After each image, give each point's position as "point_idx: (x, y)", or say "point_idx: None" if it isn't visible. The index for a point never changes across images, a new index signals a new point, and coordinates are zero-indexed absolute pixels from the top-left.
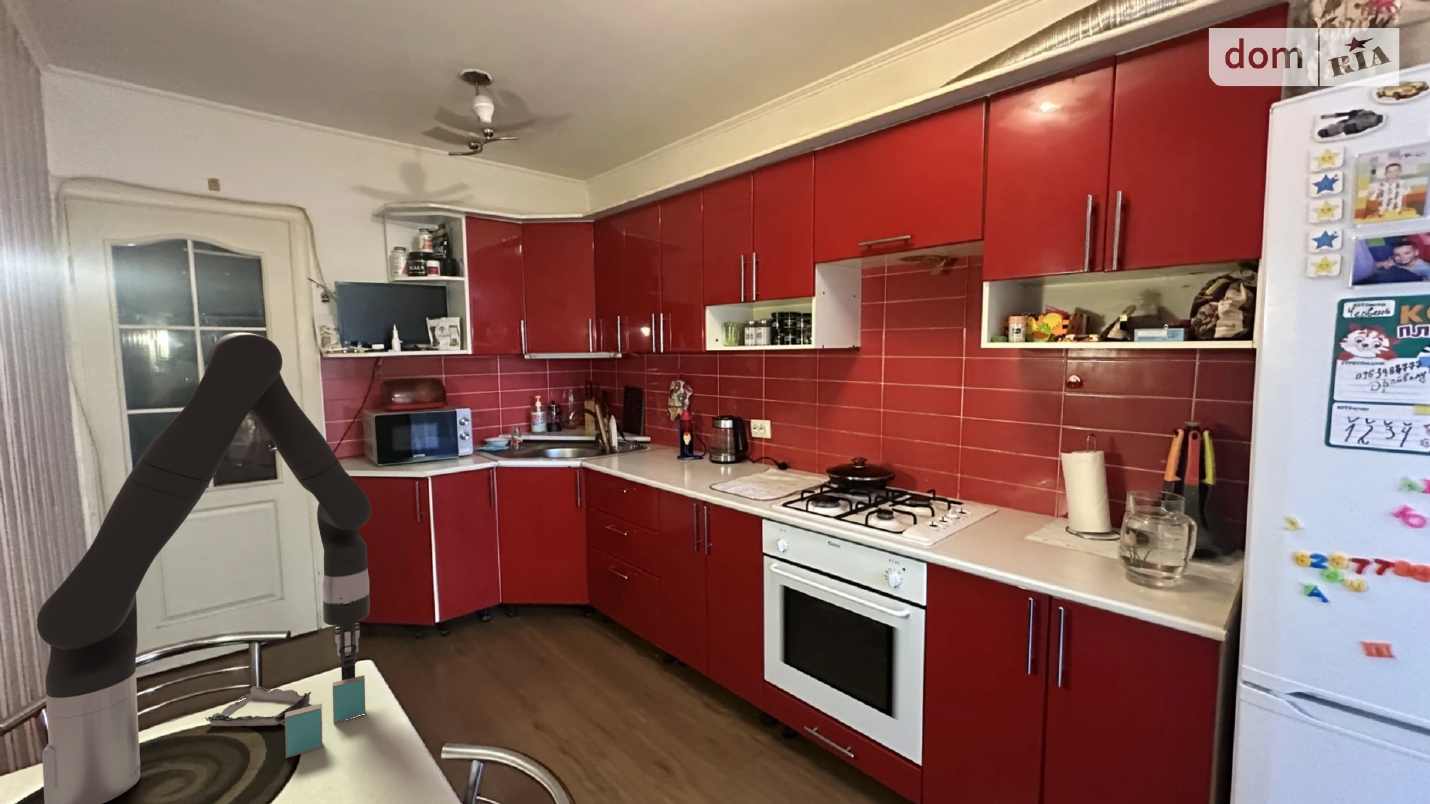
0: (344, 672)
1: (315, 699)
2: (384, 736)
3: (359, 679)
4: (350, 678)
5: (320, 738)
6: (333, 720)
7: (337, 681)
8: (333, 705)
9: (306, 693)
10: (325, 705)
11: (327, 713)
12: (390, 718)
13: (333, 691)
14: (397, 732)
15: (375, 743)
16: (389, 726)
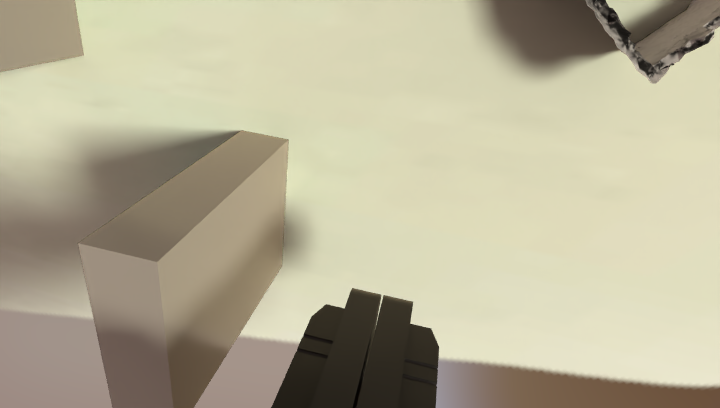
0: (286, 377)
1: (649, 96)
2: (41, 260)
3: (116, 397)
4: (168, 368)
5: None
6: (233, 136)
7: (159, 293)
8: (184, 172)
9: (694, 48)
10: (496, 134)
11: (380, 125)
12: None
13: (115, 223)
14: (52, 296)
15: (4, 225)
16: None
